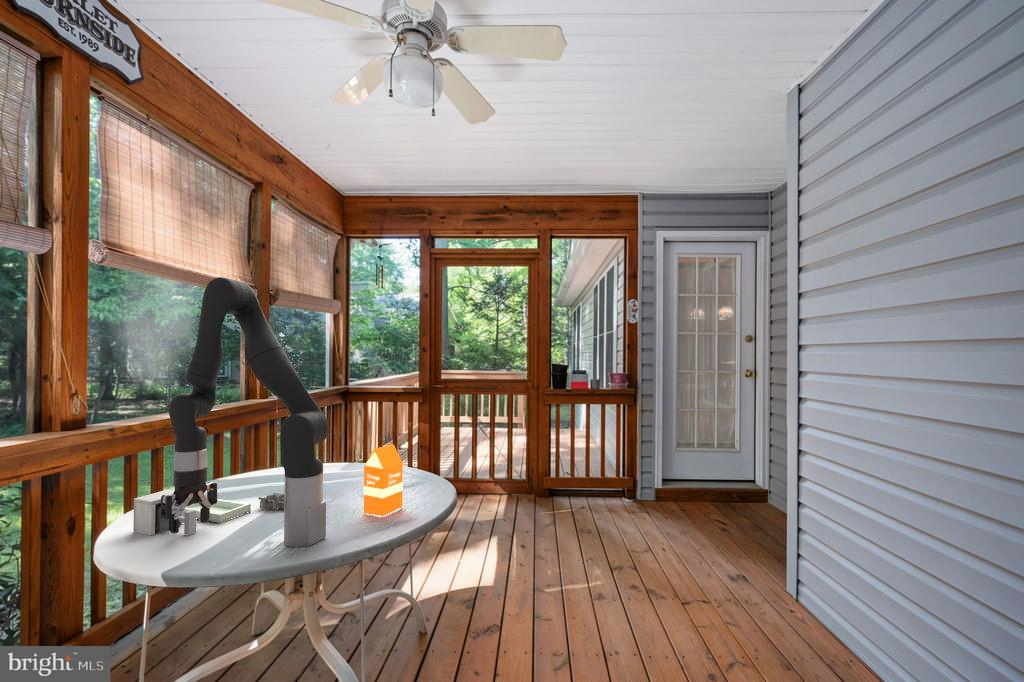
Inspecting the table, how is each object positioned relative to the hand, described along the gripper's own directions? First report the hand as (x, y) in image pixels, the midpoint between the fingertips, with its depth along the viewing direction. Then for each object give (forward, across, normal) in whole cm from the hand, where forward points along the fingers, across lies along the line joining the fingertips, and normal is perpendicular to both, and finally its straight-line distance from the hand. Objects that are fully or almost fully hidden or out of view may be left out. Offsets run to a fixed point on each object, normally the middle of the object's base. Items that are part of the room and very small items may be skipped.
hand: (189, 527), depth 126 cm
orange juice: (+2, +32, -39) cm, 51 cm away
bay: (+2, 0, +12) cm, 12 cm away
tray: (+2, +13, +9) cm, 16 cm away
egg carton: (+2, +25, -5) cm, 26 cm away
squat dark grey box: (+2, 0, +6) cm, 7 cm away
